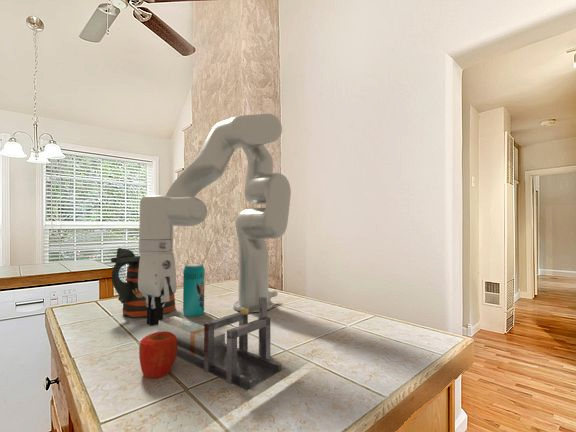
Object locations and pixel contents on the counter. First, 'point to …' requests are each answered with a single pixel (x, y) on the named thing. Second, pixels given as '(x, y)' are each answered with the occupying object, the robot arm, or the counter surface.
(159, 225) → the robot arm
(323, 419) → the counter surface
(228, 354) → the collar
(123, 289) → the beer stein
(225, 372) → the rail plate
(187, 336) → the white box
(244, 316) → the collar
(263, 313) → the frame
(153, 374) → the apple
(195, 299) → the beverage can
